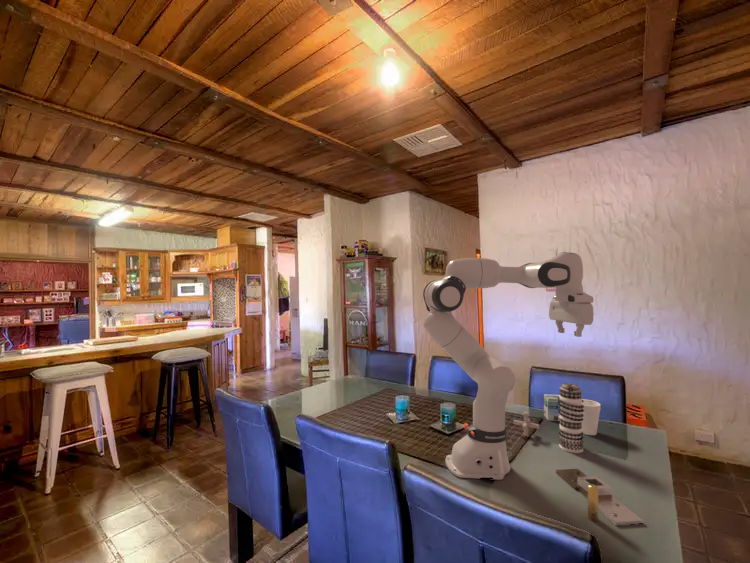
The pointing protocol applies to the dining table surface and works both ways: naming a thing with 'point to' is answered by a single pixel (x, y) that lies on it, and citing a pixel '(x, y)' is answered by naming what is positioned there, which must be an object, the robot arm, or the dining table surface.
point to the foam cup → (590, 416)
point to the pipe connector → (526, 424)
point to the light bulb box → (551, 407)
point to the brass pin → (593, 502)
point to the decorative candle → (570, 418)
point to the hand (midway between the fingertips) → (569, 334)
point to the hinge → (600, 497)
